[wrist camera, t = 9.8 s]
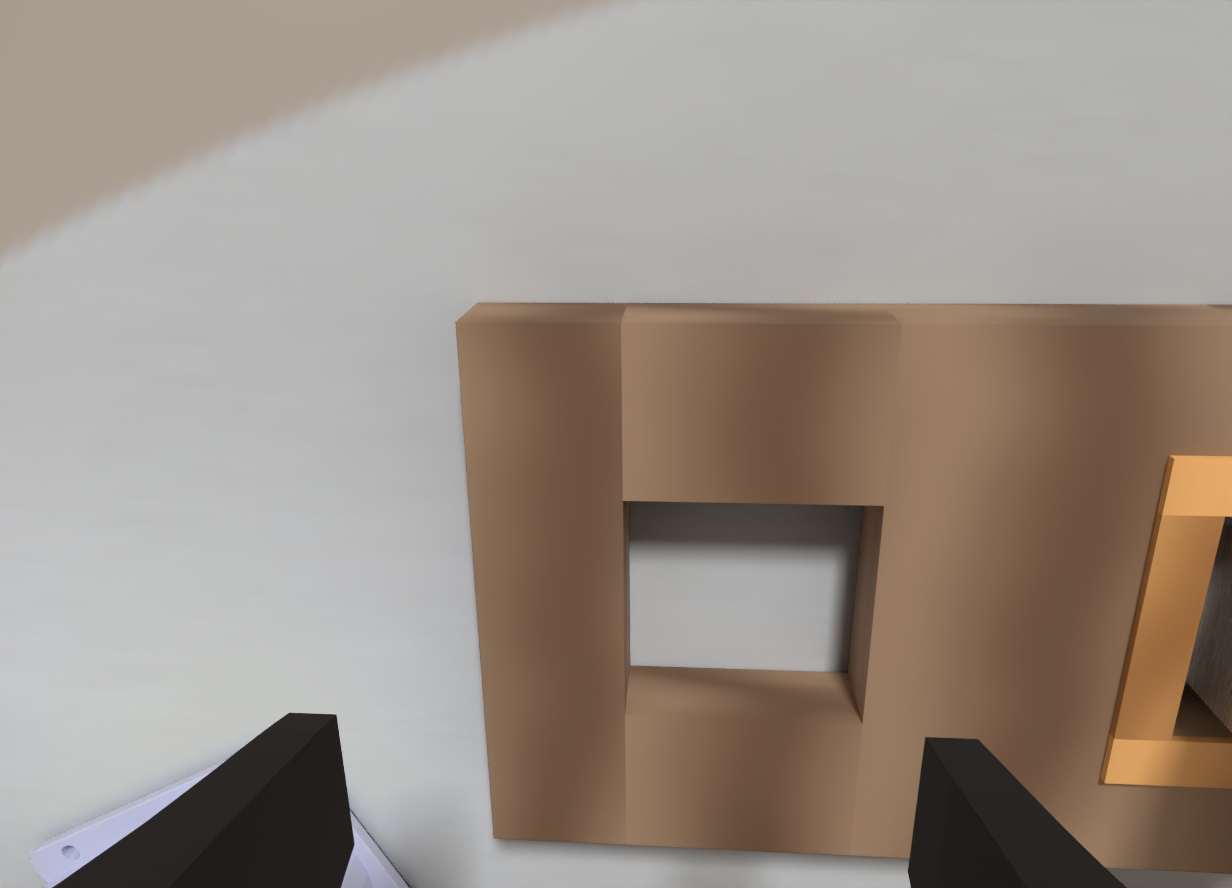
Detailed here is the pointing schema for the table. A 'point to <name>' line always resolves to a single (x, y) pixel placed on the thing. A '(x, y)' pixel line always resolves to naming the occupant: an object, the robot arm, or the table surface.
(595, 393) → the wooden peg hole board
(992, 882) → the robot arm
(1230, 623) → the steel peg
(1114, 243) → the table surface
